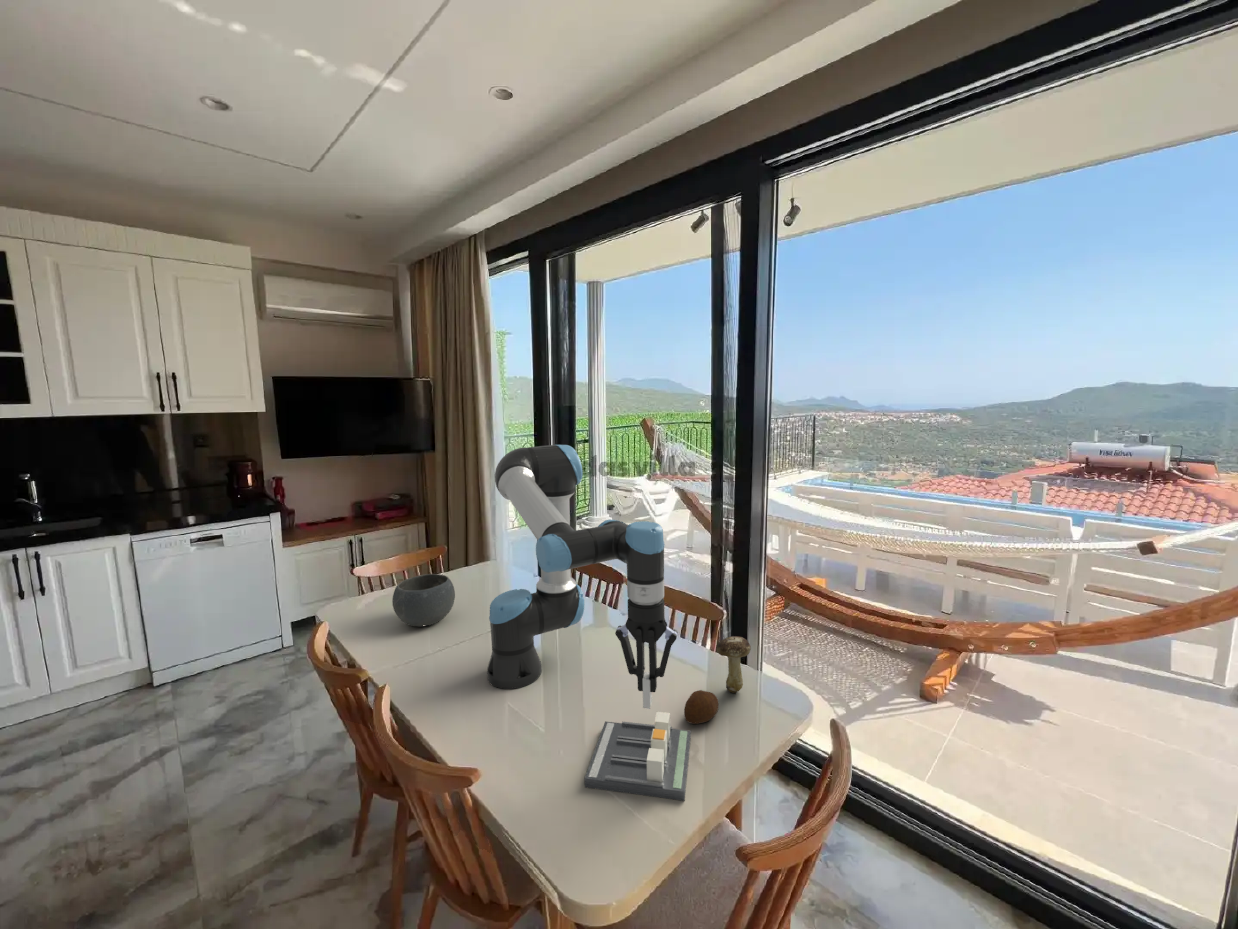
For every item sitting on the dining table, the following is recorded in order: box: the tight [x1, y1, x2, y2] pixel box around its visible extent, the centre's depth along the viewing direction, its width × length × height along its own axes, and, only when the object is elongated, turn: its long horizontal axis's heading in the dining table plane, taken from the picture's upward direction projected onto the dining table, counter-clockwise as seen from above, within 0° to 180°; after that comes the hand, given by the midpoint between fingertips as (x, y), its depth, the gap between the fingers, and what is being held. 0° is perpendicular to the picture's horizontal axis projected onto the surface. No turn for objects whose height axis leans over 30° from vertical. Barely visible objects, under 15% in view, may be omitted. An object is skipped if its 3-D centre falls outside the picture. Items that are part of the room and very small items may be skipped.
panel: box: [584, 721, 692, 802], centre depth 108 cm, size 20×18×3 cm
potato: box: [683, 689, 720, 725], centre depth 122 cm, size 7×10×7 cm
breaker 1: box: [654, 711, 671, 741], centre depth 113 cm, size 3×4×4 cm
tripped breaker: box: [651, 729, 667, 761], centre depth 107 cm, size 3×4×5 cm
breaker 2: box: [647, 748, 664, 783], centre depth 101 cm, size 3×4×4 cm
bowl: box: [392, 573, 456, 627], centre depth 178 cm, size 20×20×15 cm
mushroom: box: [716, 635, 752, 694], centre depth 131 cm, size 9×9×15 cm
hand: (647, 704), depth 106 cm, fingers closed
